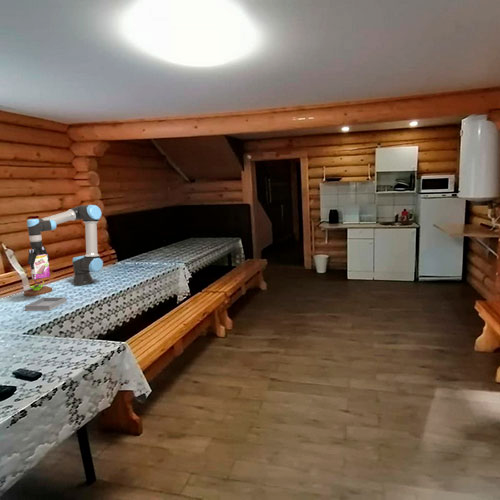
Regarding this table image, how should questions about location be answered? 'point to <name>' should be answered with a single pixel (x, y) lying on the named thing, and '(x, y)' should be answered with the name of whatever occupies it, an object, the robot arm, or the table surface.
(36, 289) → the plant
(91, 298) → the table surface
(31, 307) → the holder
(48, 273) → the candy bar box
